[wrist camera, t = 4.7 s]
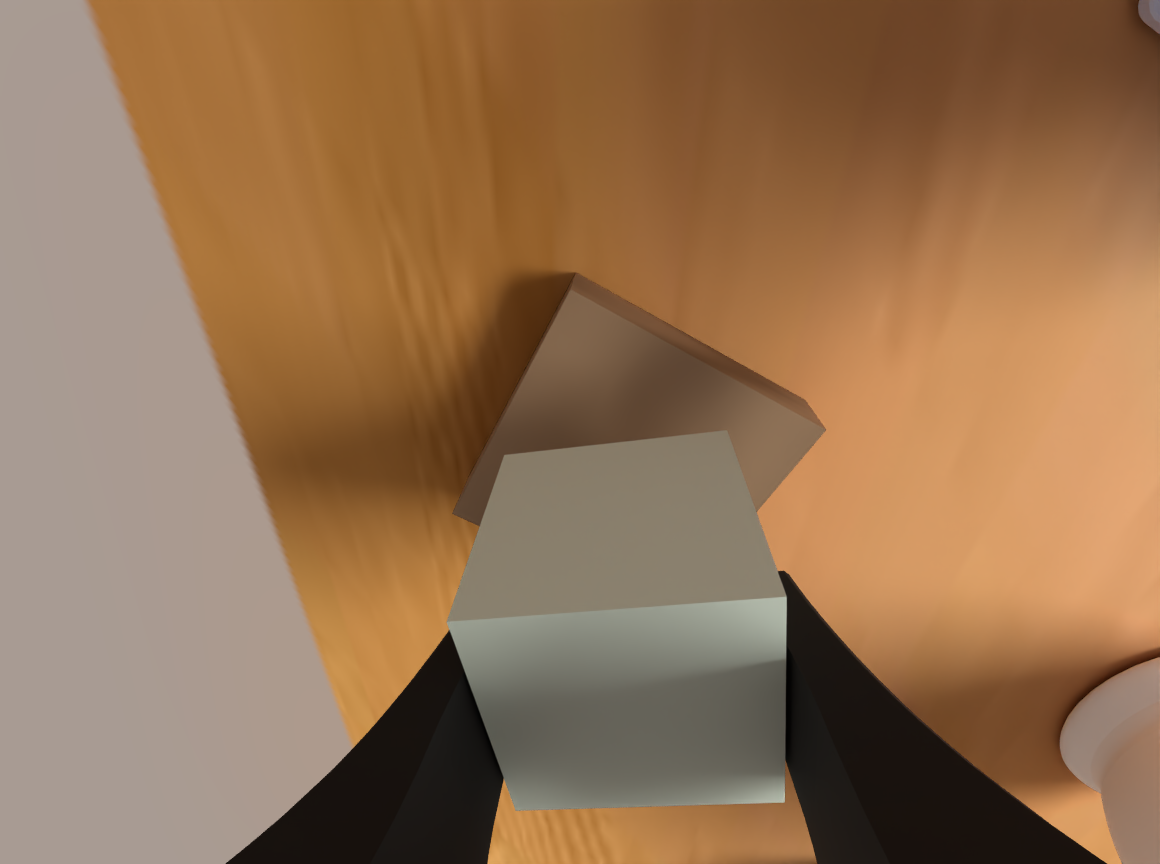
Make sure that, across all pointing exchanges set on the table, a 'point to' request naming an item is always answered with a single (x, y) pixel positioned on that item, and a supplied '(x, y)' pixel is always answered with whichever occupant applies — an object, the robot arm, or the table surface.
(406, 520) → the table surface
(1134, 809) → the jar
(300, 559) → the table surface
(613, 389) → the walnut plinth
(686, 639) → the painted cube
